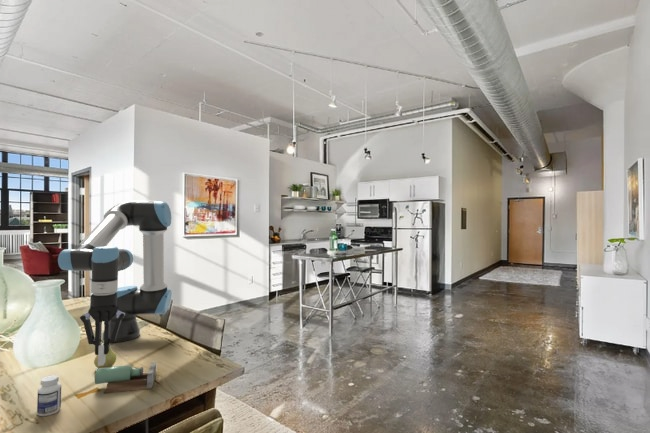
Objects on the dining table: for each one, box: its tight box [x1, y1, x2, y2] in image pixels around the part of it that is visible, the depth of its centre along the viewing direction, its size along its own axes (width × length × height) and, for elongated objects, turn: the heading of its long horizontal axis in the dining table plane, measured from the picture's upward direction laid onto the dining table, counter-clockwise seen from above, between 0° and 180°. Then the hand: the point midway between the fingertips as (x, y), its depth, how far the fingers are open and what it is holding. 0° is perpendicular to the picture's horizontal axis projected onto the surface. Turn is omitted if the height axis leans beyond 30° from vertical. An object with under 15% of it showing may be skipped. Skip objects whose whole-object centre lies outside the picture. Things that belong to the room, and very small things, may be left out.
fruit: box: [93, 339, 117, 369], centre depth 130 cm, size 7×8×12 cm
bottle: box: [94, 364, 144, 385], centre depth 117 cm, size 5×5×14 cm
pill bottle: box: [36, 374, 62, 417], centre depth 101 cm, size 5×5×10 cm
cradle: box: [103, 361, 157, 394], centre depth 118 cm, size 9×14×5 cm, turn 108°
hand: (101, 363), depth 115 cm, fingers closed
